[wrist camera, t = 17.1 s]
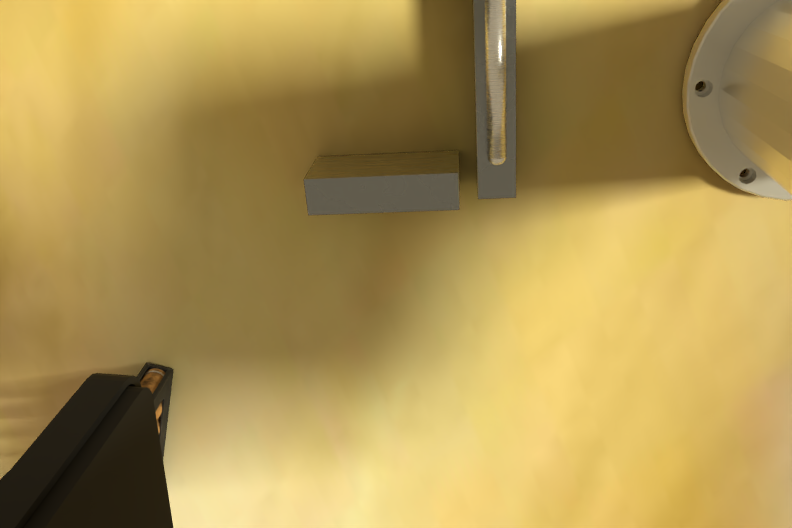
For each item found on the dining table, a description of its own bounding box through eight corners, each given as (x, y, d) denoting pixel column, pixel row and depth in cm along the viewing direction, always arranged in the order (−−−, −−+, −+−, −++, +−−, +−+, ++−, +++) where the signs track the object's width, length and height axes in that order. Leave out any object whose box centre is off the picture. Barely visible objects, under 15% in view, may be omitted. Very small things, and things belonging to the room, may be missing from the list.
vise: (512, -94, 35) (518, -96, 31) (512, 182, 41) (517, 207, 37) (289, -76, 36) (270, -76, 32) (321, 189, 42) (308, 215, 38)
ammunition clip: (160, 485, 53) (82, 630, 42) (135, 479, 53) (51, 622, 42) (173, 368, 48) (90, 497, 37) (146, 361, 48) (55, 488, 37)
